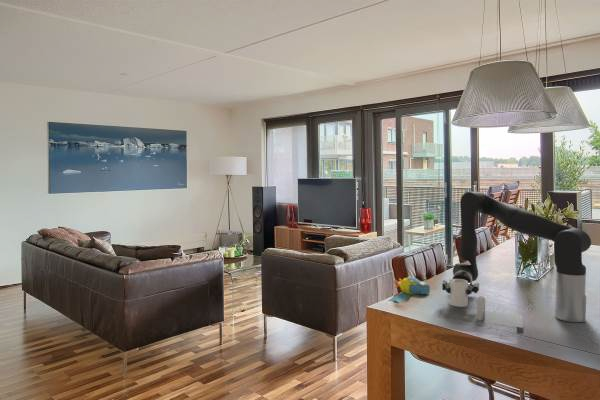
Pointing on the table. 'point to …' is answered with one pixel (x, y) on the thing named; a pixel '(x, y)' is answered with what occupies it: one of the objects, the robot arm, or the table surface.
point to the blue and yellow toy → (410, 289)
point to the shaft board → (488, 317)
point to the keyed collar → (458, 292)
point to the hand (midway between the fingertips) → (458, 291)
